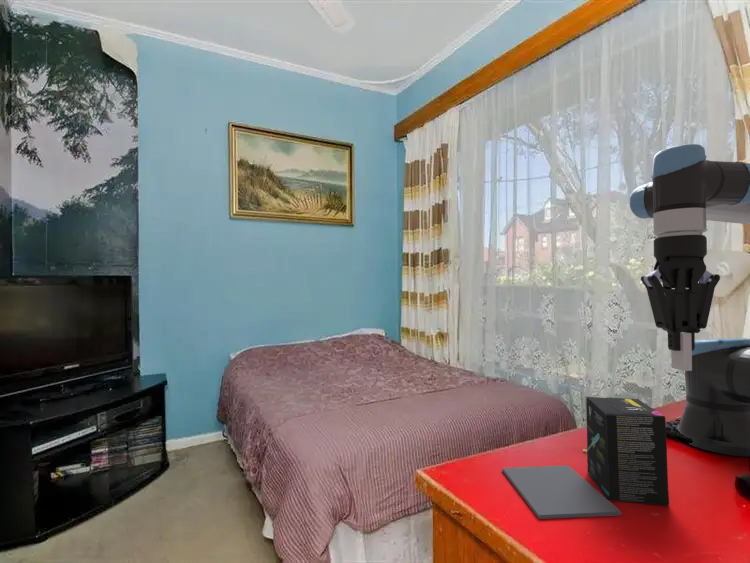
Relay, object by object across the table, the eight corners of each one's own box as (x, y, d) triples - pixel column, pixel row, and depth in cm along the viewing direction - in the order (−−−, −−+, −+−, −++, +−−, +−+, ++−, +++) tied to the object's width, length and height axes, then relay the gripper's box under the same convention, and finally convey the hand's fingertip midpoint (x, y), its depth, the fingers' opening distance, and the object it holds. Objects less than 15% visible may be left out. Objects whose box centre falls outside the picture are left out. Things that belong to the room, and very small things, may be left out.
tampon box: (670, 507, 65) (668, 416, 65) (607, 502, 67) (605, 413, 67) (640, 475, 76) (638, 396, 76) (586, 471, 78) (585, 395, 78)
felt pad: (568, 468, 79) (568, 465, 79) (621, 515, 63) (621, 511, 63) (502, 470, 78) (502, 467, 78) (539, 519, 62) (538, 515, 62)
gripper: (697, 237, 76) (699, 364, 76) (629, 238, 75) (631, 365, 75) (734, 232, 68) (736, 372, 68) (659, 233, 68) (661, 374, 68)
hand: (681, 368), depth 72 cm, fingers closed
